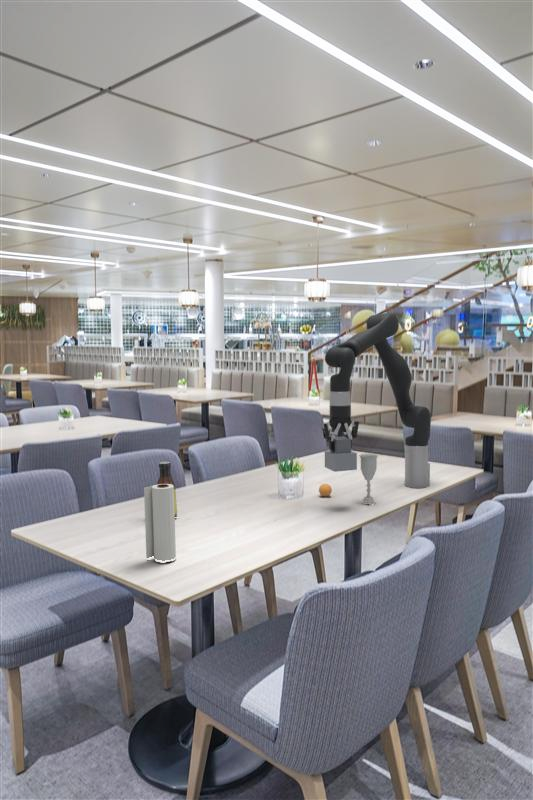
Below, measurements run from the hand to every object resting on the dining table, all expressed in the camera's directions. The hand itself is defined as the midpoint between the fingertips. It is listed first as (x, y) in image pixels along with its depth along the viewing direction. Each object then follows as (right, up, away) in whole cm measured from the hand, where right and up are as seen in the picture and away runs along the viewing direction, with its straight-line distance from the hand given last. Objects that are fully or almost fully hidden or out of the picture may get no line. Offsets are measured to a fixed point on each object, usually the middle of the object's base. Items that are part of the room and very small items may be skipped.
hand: (340, 450), depth 222 cm
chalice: (+12, -21, +9) cm, 25 cm away
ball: (-4, -17, +19) cm, 26 cm away
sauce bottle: (-61, -23, -8) cm, 65 cm away
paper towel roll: (-55, -27, -48) cm, 78 cm away
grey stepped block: (0, -7, +1) cm, 6 cm away
